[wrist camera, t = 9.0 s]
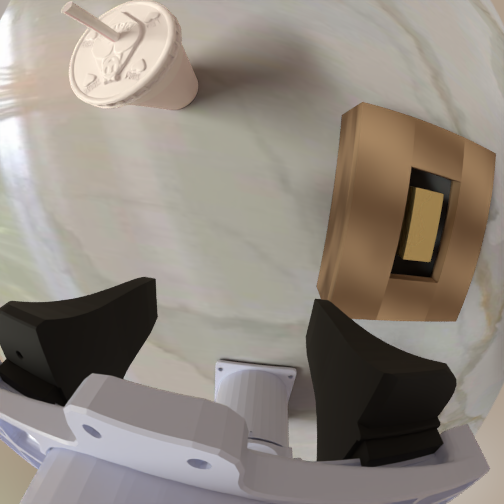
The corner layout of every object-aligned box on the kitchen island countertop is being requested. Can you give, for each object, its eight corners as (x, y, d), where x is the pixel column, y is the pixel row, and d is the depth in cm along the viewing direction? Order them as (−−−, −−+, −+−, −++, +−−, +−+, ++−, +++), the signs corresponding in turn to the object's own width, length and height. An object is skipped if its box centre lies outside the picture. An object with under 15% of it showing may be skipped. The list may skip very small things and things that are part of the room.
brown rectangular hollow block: (430, 295, 22) (455, 321, 17) (316, 286, 23) (327, 316, 18) (460, 151, 18) (495, 153, 13) (341, 115, 18) (362, 102, 13)
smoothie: (216, 50, 17) (152, -62, 4) (214, 123, 19) (122, 63, 6) (142, 61, 17) (31, -4, 4) (138, 130, 19) (1, 114, 6)
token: (404, 244, 21) (430, 262, 17) (380, 241, 21) (402, 259, 17) (414, 187, 19) (443, 194, 15) (389, 181, 20) (416, 187, 15)
